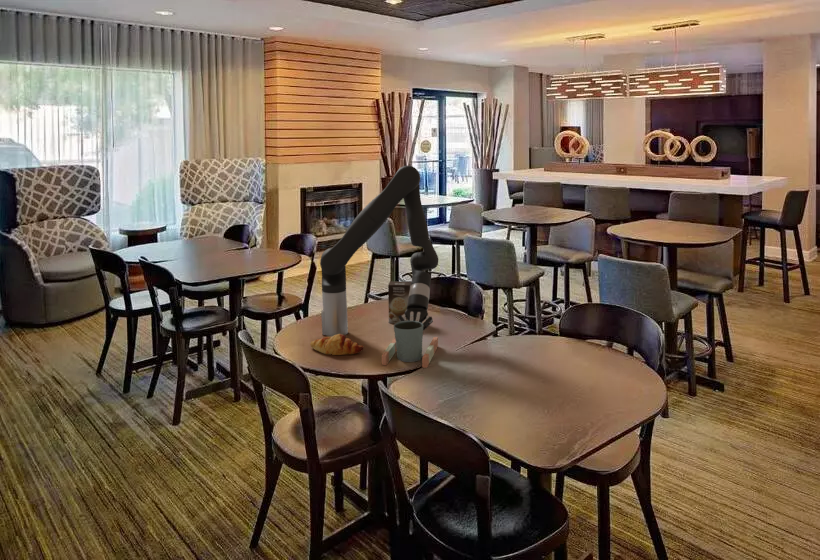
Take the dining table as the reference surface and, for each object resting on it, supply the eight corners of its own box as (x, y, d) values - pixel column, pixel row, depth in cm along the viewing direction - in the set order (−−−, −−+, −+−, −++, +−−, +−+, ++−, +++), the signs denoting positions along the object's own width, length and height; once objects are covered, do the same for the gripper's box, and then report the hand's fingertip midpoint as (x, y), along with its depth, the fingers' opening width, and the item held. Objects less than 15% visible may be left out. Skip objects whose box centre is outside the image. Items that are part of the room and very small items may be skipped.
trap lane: (381, 365, 226) (381, 355, 225) (396, 344, 247) (396, 335, 246) (426, 367, 223) (426, 357, 222) (438, 346, 244) (437, 337, 243)
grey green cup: (428, 355, 235) (427, 322, 233) (417, 364, 226) (416, 330, 224) (401, 351, 239) (400, 319, 236) (389, 361, 230) (388, 327, 227)
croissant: (307, 360, 243) (301, 344, 238) (318, 340, 250) (312, 324, 245) (361, 365, 236) (355, 349, 231) (370, 344, 243) (365, 328, 238)
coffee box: (388, 323, 273) (387, 284, 270) (390, 318, 279) (389, 281, 276) (410, 323, 272) (409, 285, 269) (412, 319, 279) (411, 281, 275)
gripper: (399, 292, 244) (392, 335, 235) (435, 293, 241) (429, 337, 232) (402, 302, 250) (396, 344, 241) (437, 304, 247) (432, 346, 239)
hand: (412, 340), depth 237 cm, fingers closed
